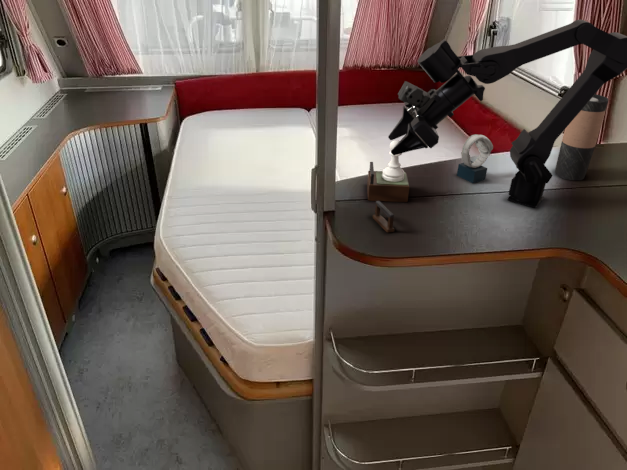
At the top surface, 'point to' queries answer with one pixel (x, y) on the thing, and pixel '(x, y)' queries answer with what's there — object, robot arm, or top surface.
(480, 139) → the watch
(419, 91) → the robot arm
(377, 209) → the low rail
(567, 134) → the travel mug
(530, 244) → the top surface
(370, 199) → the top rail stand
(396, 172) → the chess pawn
